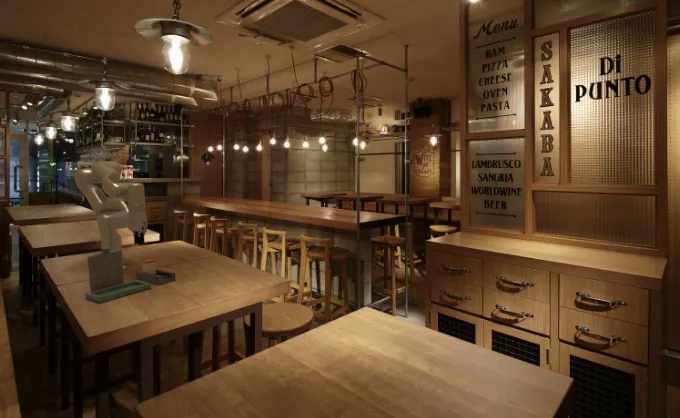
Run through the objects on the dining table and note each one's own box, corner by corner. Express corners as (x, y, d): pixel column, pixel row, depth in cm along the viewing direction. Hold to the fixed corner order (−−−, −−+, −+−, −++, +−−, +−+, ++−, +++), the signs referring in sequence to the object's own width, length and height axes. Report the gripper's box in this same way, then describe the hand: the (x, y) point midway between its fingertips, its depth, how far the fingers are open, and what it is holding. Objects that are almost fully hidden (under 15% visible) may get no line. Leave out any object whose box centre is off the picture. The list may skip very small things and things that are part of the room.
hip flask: (120, 285, 191) (117, 243, 189) (126, 286, 190) (124, 244, 188) (89, 295, 177) (85, 250, 174) (95, 296, 175) (91, 251, 173)
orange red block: (142, 274, 200) (141, 260, 200) (151, 272, 204) (150, 258, 204) (147, 276, 198) (146, 261, 197) (156, 273, 202) (155, 259, 201)
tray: (85, 299, 172) (85, 293, 171) (137, 285, 191) (136, 279, 191) (99, 303, 166) (99, 297, 166) (151, 288, 185) (150, 283, 185)
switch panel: (136, 279, 200) (136, 271, 199) (153, 275, 207) (152, 267, 207) (158, 285, 190) (158, 277, 190) (175, 280, 198) (174, 272, 198)
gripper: (120, 207, 202) (123, 243, 204) (139, 209, 194) (141, 247, 196) (134, 206, 208) (137, 241, 211) (153, 208, 200) (155, 244, 202)
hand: (139, 243), depth 203 cm, fingers open, 2 cm apart
